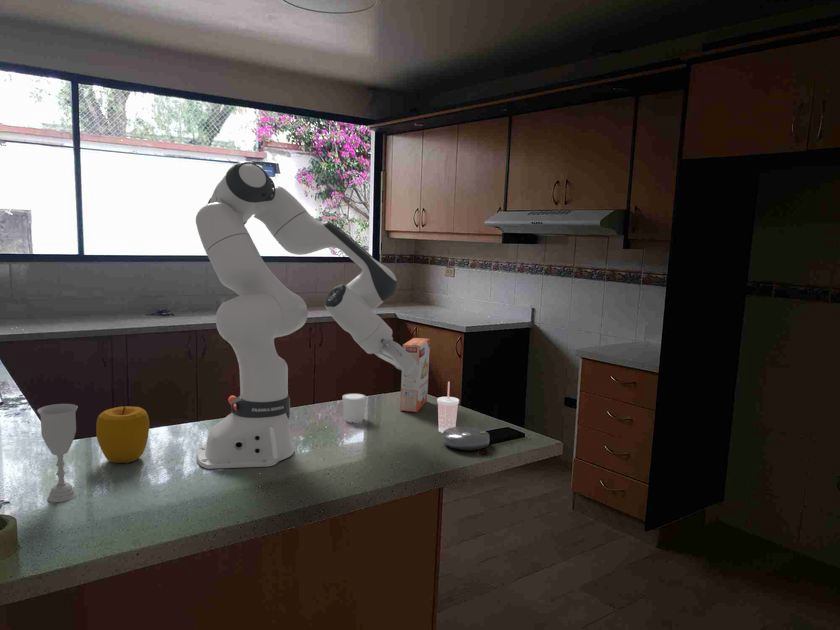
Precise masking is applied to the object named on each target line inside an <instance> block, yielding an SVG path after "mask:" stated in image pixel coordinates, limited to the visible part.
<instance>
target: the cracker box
mask: <svg viewBox="0 0 840 630" xmlns="http://www.w3.org/2000/svg"><path fill="white" fill-rule="evenodd" d="M402 347H403V348H404V349H405V350H406V351H407V352H408V353H409V354H410V355H411V356H412V357H413V358H414V359H415V360H416V364H415V366H414V367H415V369H416V370H417V371H418V372H419V375H418V376H417V377H416V378H414V377H412V376H411V375H410V374H409V372H406V371H404V370H401V380H400V381H401V382H400V383H401V384H400V406H399V407H400V408H399V411H401V412H402V411H403V412H408V413H409V412H410V413H418V412H419V411H420V410H421V409H422V407H423V406H424V405H425V404H426V403H427V401H428V390H429V370H430V369H429V366H430V350H431V349H430V348H431V339H430V338H425V337H420V338H419V337H413V338H411V339H410V340H408V341H407V342H405V343H403V344H402Z"/></svg>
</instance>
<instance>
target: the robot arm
mask: <svg viewBox="0 0 840 630" xmlns="http://www.w3.org/2000/svg"><path fill="white" fill-rule="evenodd" d="M253 215H254V216H253ZM252 216H253V218H255V219H257V220H259V221H260V222H261V223H262V224H264V225H265V227H266V228H267V230H268V231H269V233H270V234H271V235H272V236H273V238H274V239H275V240H276V242H277V243H278V244H279V245H280V246H281V247H282V248H283V249H284V250H285V251H286V252H288V253H290V254H293V255H299V256H300V255H301V256H302V255H308V254H312V253H315V252H318V251H321V250H326V249H330V248H335V249H338V250H340V251H342V252H343V254H345V255H346V256H347V257H348V258H349V259H350V260H351V261H353V262H354V264H356V265H357V266H358V267H359V268H361V272H360V273H359V274H358V275H356V276H355V277H354V278H353V279H352V280H351V281H350V282H348V283H347V284H344V283H343V284H338V285H336V286H335V287H333V288H332V289H331V290H330V291H329V292H328V293H327V295H326V297H325V299H324V306H325V308H326V309H325V310H326V311H328V313H329V314H330V316H331V317H332V319H333V320H334V321H335V322H336V323H337V324H338V326H339V327H341V329H342V330H344V331H345V332H347V333H349V334H350V335H351V337H352V339H353V340H354V342H355V343H357V345H359V346H360V347H361V349H362V350H364V352H365V353H366V354H368V355H373V354H374V355H375V356H377V357H378V358H380V359H381V360H384V361H385V362H387V363H389V364H391V365H393V367H395V368H396V369H397V370H399V371H402V370H404V371H406V372H409V374H410V375H411V376H412V377H414V378H416V377H417V376H418V375H419V372H418V371H417V370H416V369H415V367H414V366H415V364H416V360H415V359H414V358H413V357H412V356H411V355H410V354H409V353H408V352H407V351H406V350H405V349H404V348H403V345H402V346H401V345H400V344H399V342H396V341H394V337H393V329H392V328H391V327H390V326H389V325H388V324H387V323H386V322H385V321H384V319H382V317H381V316H379V315H378V314H376V313H375V312H374V310H376V309H377V307H379V306H380V305H382V304H383V303H385V302H386V301H388V300H390V299H391V298H392V297H394V296H395V295H396V292H397V290H398V289H397V288H398V279H397V278H396V275H395V274H394V273H393V271H392V270H390V269H389V268H388V267H387V266H386V265H385V264H383V263H381V262H379V261H378V260H377V259H376V258H375V257H374V256H373V255H372V254H370V253H369V252H368V251H367V250H366V249H364V248H363V247H362V246H361V244H359V243H358V242H357V241H356V240H354V239H353V238H352V237H351V236H350V235H349V234H347V233H346V232H345V231H344V230H343V229H341V228H340V227H339V226H338V225H336V224H335V223H332V222H331V221H328V220H327V221H320V220H318V219H316V218H315V217H313V216H312V215H311V214H310V213H309V212H308V211H307V210H306V208H305V207H304V206H303V205H302V204H301V202H300V201H299V200H298V199H296V197H295V196H293V194H291V193H290V192H289V191H288V190H286V188H284V187H282V186H279V185H275V183H274V181H273V179H272V178H271V177H270V175H269V174H268V173H267V171H266V170H264V169H263V168H262V166H259V164H257V163H254V162H252V161H250V160H249V161H248V160H241V161H237V162H236V163H235V164H233V165H232V166H231V167H229V169H228V170H227V171H226V174H225V175H224V176H223V177H222V179H221V180H220V181H219V182H218V183H217V184H216V186H215V188H214V190H213V192H212V194H211V197H210V198H209V200H208V202H207V204H206V205H204V206H203V207H201V208H200V209H199V211H198V212H197V213H196V215H195V225H196V230H197V233H198V236H199V238H200V241H201V244H202V247H203V248H204V251H205V254H206V255H207V258H208V259H209V262H210V264H211V267H213V268H212V269H213V270H214V272H215V274H216V275H217V278H218V280H219V282H220V284H222V285H223V286H224V287H226V288H228V289H229V290H231V291H233V292H234V293H236V294H237V295H238V296H236V297H233V298H231V299H228V300H226V301H224V302H223V303H221V305H220V306H219V307H218V308H217V311H216V314H215V326H216V329H217V331H218V334H219V336H221V337H222V339H224V340H225V342H226V341H227V342H228V344H229V345H230V346H231V347H232V349H233V351H234V353H235V356H236V359H237V362H238V367H239V387H240V389H239V391H240V392H239V396H237V397H236V395H230V396H229V397H228V399H227V401H228V403H229V404H230V406H231V413H230V414H228V415H226V417H224V418H223V419H222V420H219V421H218V422H217V423H216V424H215V425H213V426H212V427H211V429H210V431H209V433H208V435H207V441H206V444H205V445H202V446H200V448H199V449H198V450H197V452H196V453H197V454H196V460H197V463H198V464H199V466H200V467H203V468H204V469H207V470H209V469H210V470H211V469H233V468H234V469H235V468H238V469H239V468H259V467H261V468H262V467H272V466H275V465H277V464H278V463H279V462H280V461H282V460H286V459H288V458H289V457H292V456H293V455H294V453H295V448H294V444H293V440H292V436H291V430H290V422H289V419H290V414H291V399H290V395H289V393H288V392H289V391H288V389H289V387H288V386H289V382H288V380H289V379H288V377H289V375H288V374H289V372H288V371H289V368H288V367H289V366H288V364H287V362H286V360H285V359H283V358H282V357H281V356H279V354H278V351H277V350H276V346H275V339H276V338H279V337H280V338H281V337H285V336H288V335H289V336H290V335H291V334H293V333H294V332H296V331H298V330H299V329H302V327H303V326H304V325H305V324H306V322H307V319H308V307H307V304H306V302H305V300H304V299H303V298H302V297H301V295H298V294H296V293H295V292H293V291H291V290H290V289H289V288H287V287H286V286H285V284H283V283H282V282H281V281H280V280H279V279H278V277H276V275H275V274H274V273H273V272H272V271H271V269H270V268H269V266H267V264H266V263H265V261H264V260H263V257H262V256H261V254H260V252H259V250H258V248H257V246H256V244H255V243H254V240H253V239H252V237H251V235H250V232H249V231H248V229H247V228H246V226H245V225H246V224H247V222H248V221H249V219H250V218H251V217H252Z"/></svg>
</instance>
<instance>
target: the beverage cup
mask: <svg viewBox="0 0 840 630" xmlns="http://www.w3.org/2000/svg"><path fill="white" fill-rule="evenodd" d="M450 382H451V381H448V382H447V396H440V397H437V399H436V403H437V414H438V415H437V416H438V417H437V418H438V420H437V421H438V423H437V424H438V432H439V433H441V434H443V432H444V431H445V430H446V429H449V428H453V427H457V426H456V425H457V416H458V407H459V404H460V399H459V398H457V397H454V396H450V387H451V386H450V384H451V383H450Z"/></svg>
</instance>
